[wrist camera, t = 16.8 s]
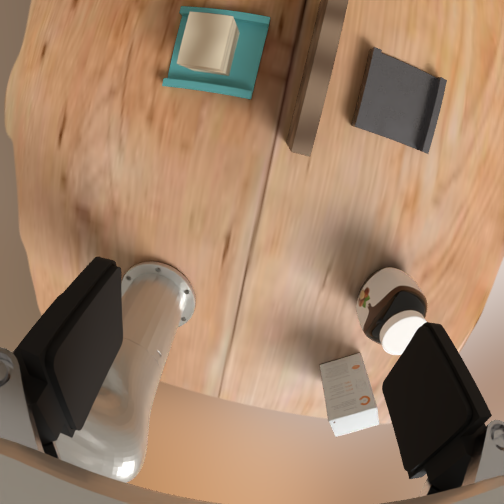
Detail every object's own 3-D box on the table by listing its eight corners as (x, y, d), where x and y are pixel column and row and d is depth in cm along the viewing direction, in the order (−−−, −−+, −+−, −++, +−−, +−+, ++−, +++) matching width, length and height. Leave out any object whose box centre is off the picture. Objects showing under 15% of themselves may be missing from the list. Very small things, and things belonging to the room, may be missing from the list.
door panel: (301, 146, 38) (310, 156, 31) (286, 142, 38) (291, 151, 31) (335, 7, 29) (351, -13, 22) (320, 2, 29) (332, -19, 22)
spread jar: (381, 254, 44) (409, 298, 34) (429, 281, 46) (461, 324, 36) (339, 313, 49) (353, 364, 39) (388, 333, 51) (408, 381, 41)
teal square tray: (270, 20, 31) (270, 17, 29) (251, 99, 36) (250, 99, 34) (184, 9, 30) (181, 6, 29) (166, 86, 35) (162, 85, 33)
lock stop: (240, 28, 31) (234, 11, 24) (229, 76, 34) (219, 69, 27) (205, 24, 31) (191, 6, 24) (193, 70, 34) (176, 63, 27)
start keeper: (422, 151, 37) (428, 153, 35) (351, 125, 36) (354, 126, 35) (440, 80, 32) (446, 80, 31) (369, 49, 32) (374, 47, 30)
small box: (326, 383, 57) (334, 437, 46) (318, 364, 55) (327, 421, 43) (365, 371, 56) (380, 425, 44) (361, 351, 53) (377, 407, 41)
